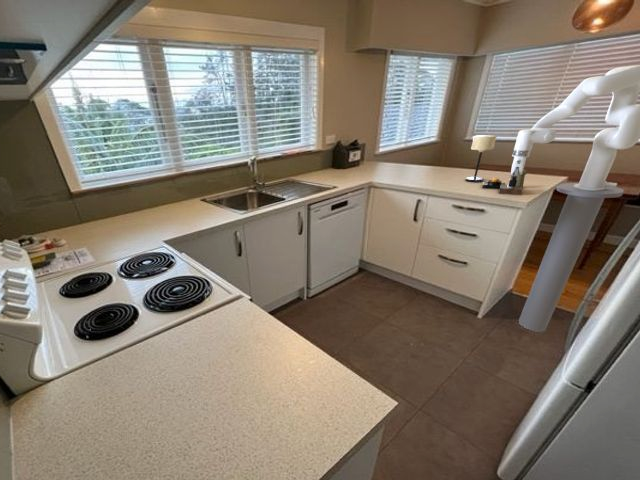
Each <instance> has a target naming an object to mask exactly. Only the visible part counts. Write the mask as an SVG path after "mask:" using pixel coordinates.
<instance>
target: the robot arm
mask: <svg viewBox="0 0 640 480" xmlns="http://www.w3.org/2000/svg"><path fill="white" fill-rule="evenodd" d="M611 93H612V97H611V101H610V104H609V107H608V110H607V112H606V115H605V120H604V122H605V124H608V125H610V126H618V127H607V128H604V129H602V130H600V131H598V132H597V133H596V135H595V136H594V138H593V142H592V148H591V151H590V155H589V157H588V159H587V162H586V164H585V167H584V169H583V171H582V174H581V177H580V180H579V181H578V183H579V184H575V185H574V188H576V189H581V190H589V191H602V190H606V187H607V186H611V187H618V186H617V185H618V182H610V181H607V177H608V176H609V173H610V171H611V168H612V166H613V164H614V161H615V159H616V158H617V154H618V153H617V152H618V150H627V149H630V148H632V147H633V146H634V145H636V144H637V143H638V142H639V140H640V104H637V101H638V99H639V95H640V64H638V65H637V64H636V65H629V66H628V65H627V66H620V67H616V68H613V69H610V70H609V71H607V72H606V73H605V74H604V75H598V76H591V77H587V78H585V79H584V80H582V81H581V82H580V83H579V84H578V85H577V86H576V87H575V88H574V89H573V90H572V92H571V93H570V94H568V95H567V97H566V98H565V99H564V100H563V101H562V102H561V103H560V104H559V105H558V106H557V107H555V108H554V109H552V110H551V111H549V112H548V113H546V114H545V115H544V116H543V117H541V118H540V119H539V120H538V121H537V122H536V123H535V124H534V125H533V126H532V127H531V129H529V128H527V129H521V130H519V131H518V133H517V136H516V137H517V138H516V141H515V145H514V147H513V151H512V155H511V157H513V160H512V164H511V169H510V174H511V175H510V178H511V180H510V182H509V185H508V184H507V185H508V186H509V187H515V186H516V183H517V178H518V175H519V174H520V175H522V172H523V169H524V168H525V165H526V161H527V159H528V158H529V157H530V155H531V153H532V148H533V146H534V144H542V145H543V144H544V145H545V144H549V143H551V142H553V141H554V140H555V139H556V137H557V131H556V130H555V129H552V128H551V127H553V126H554V125H555V124H557V123H558V122H560V121H562V120H565V119H568V118H571V117H572V116H575V115H576V114H577V113H579V111H581V110H582V109H583V107H584V106H585V105H586V104H587V103H588V102H589V101H590V100H591V99H592V98H593V97H597V96H605V95H608V94H611ZM524 170H525V169H524Z"/></svg>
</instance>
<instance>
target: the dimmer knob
mask: <svg viewBox="0 0 640 480" xmlns="http://www.w3.org/2000/svg"><path fill="white" fill-rule="evenodd" d="M510 180H511V177H509V178H508V181H507V184H506V185H507V187H508V188H515V187H516V186H515V187H509V186H508V185H509V182H510ZM517 181H518V178H517ZM516 184H517V183H516Z"/></svg>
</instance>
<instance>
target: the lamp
mask: <svg viewBox="0 0 640 480" xmlns="http://www.w3.org/2000/svg"><path fill="white" fill-rule="evenodd" d="M497 137H498V136H497V135H495V134H479V135H474V136H473V138H472V142H471V148H470V149H471V150H473V151H478V153H479V154H478V159H477V162H476V167H475V171H474V175H473V176H467V177H465V182H468V183H484V177H480V176H478V173H479V172H478V171H479V167H480V164H481V159H482V155H483V152H485V151H491V150H494V147H495V144H496V140H497Z"/></svg>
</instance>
